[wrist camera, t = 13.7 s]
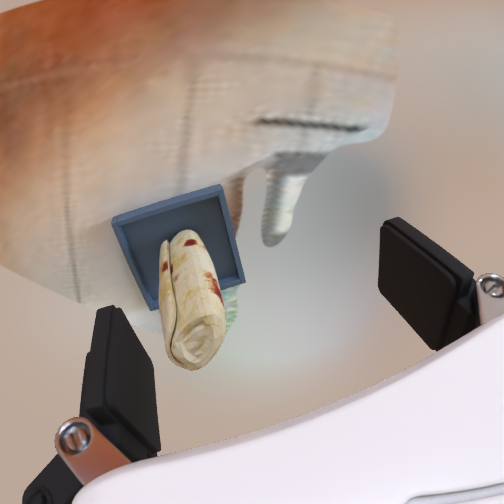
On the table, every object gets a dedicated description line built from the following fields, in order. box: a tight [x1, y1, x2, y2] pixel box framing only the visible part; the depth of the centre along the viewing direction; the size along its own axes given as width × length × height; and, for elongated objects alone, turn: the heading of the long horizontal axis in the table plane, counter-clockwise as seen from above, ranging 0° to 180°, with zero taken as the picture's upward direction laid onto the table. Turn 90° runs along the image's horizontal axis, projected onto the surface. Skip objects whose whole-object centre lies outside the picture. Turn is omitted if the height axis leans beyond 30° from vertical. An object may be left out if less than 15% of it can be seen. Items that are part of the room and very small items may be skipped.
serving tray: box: [111, 184, 246, 311], centre depth 46 cm, size 16×16×2 cm
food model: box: [159, 230, 226, 371], centre depth 38 cm, size 10×7×20 cm
